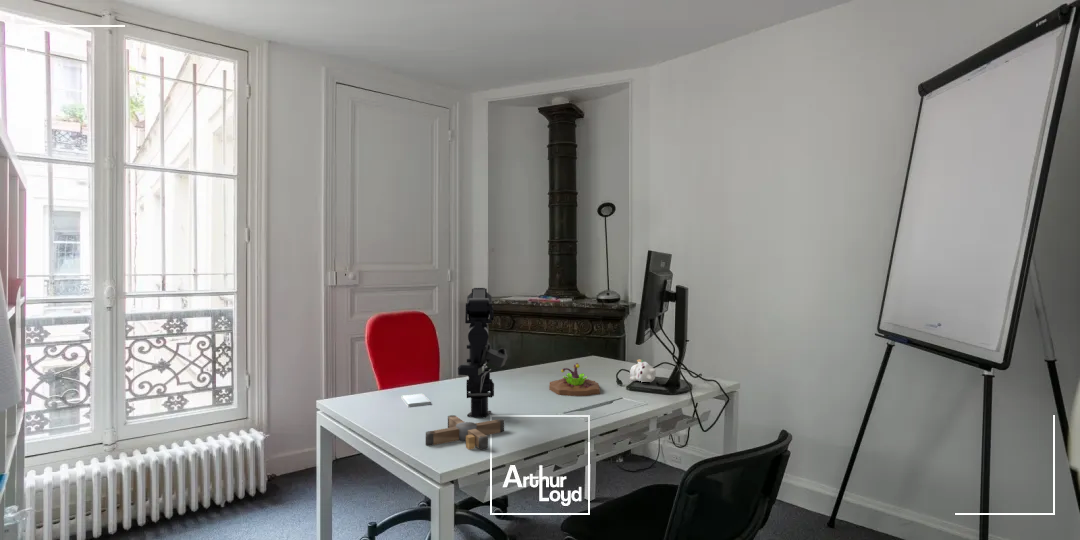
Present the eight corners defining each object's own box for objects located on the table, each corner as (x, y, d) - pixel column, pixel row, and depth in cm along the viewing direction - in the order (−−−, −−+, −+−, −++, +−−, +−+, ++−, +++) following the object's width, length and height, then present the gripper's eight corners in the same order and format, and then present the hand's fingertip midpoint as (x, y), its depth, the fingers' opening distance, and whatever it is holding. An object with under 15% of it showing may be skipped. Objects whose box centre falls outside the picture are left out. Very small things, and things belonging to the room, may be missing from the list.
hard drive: (431, 401, 197) (423, 393, 208) (408, 403, 193) (401, 395, 205) (431, 406, 197) (423, 397, 208) (408, 408, 193) (401, 399, 205)
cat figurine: (630, 356, 238) (651, 358, 224) (644, 364, 240) (665, 367, 227) (621, 376, 235) (642, 380, 221) (635, 385, 238) (657, 388, 224)
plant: (556, 398, 207) (556, 368, 206) (545, 385, 226) (545, 358, 225) (607, 395, 211) (607, 366, 210) (592, 383, 230) (592, 356, 229)
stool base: (411, 432, 166) (411, 420, 166) (486, 419, 179) (486, 408, 179) (438, 455, 148) (437, 442, 148) (518, 439, 160) (518, 427, 160)
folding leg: (467, 440, 159) (467, 430, 158) (475, 439, 160) (475, 428, 160) (481, 450, 151) (481, 439, 151) (489, 448, 153) (489, 437, 152)
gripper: (494, 347, 155) (494, 403, 155) (513, 337, 173) (513, 387, 173) (456, 345, 157) (457, 400, 158) (479, 335, 175) (479, 384, 176)
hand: (478, 392), depth 166 cm, fingers closed
